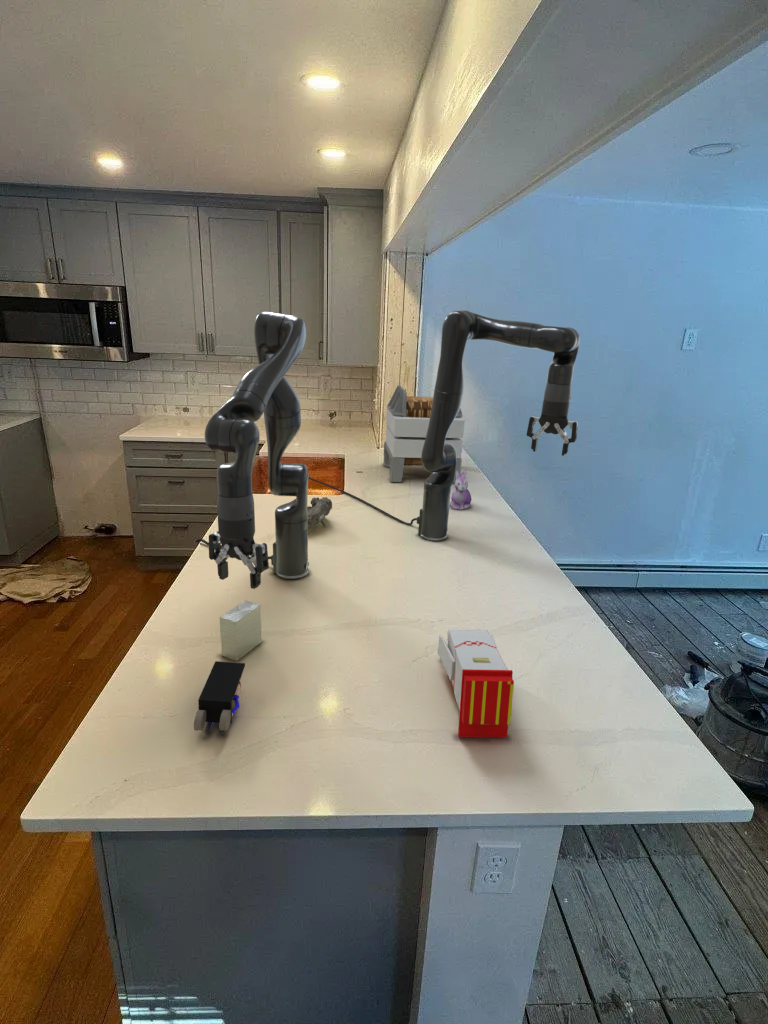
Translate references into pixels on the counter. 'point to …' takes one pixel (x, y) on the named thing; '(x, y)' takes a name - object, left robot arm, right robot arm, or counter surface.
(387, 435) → the grey slatted box
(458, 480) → the figurine
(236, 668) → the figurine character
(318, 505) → the fossil
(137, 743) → the counter surface
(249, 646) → the block
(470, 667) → the toy
